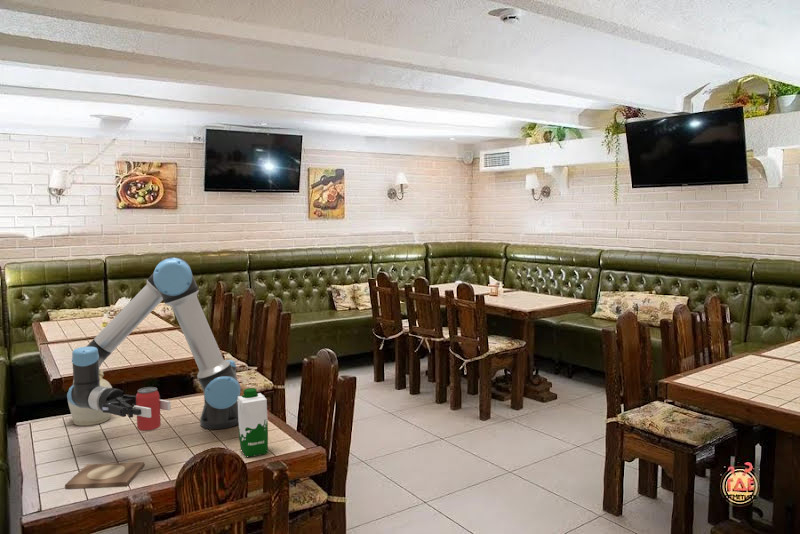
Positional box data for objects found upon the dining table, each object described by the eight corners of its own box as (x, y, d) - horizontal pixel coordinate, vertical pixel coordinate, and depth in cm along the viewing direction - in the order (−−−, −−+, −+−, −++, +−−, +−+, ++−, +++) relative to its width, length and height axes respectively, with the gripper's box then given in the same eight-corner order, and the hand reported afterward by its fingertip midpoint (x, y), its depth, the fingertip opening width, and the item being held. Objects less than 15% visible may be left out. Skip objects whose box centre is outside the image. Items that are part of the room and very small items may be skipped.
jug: (84, 430, 216) (79, 362, 214) (60, 423, 224) (56, 357, 222) (123, 418, 229) (119, 353, 227) (99, 411, 237) (95, 349, 235)
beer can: (152, 432, 178) (150, 393, 177) (132, 431, 180) (130, 392, 179) (165, 425, 185) (163, 387, 184) (146, 423, 186) (144, 385, 185)
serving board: (144, 465, 184) (144, 460, 184) (127, 486, 170) (126, 480, 170) (87, 468, 183) (87, 463, 183) (65, 488, 169) (64, 483, 169)
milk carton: (264, 444, 199) (261, 386, 197) (271, 454, 191) (269, 393, 189) (237, 450, 195) (234, 390, 193) (243, 459, 187) (241, 397, 185)
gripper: (134, 402, 199) (185, 412, 188) (80, 420, 181) (133, 432, 171) (133, 380, 198) (184, 388, 188) (78, 396, 181) (131, 406, 170)
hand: (159, 409), depth 179 cm, fingers closed on beer can, 7 cm apart
